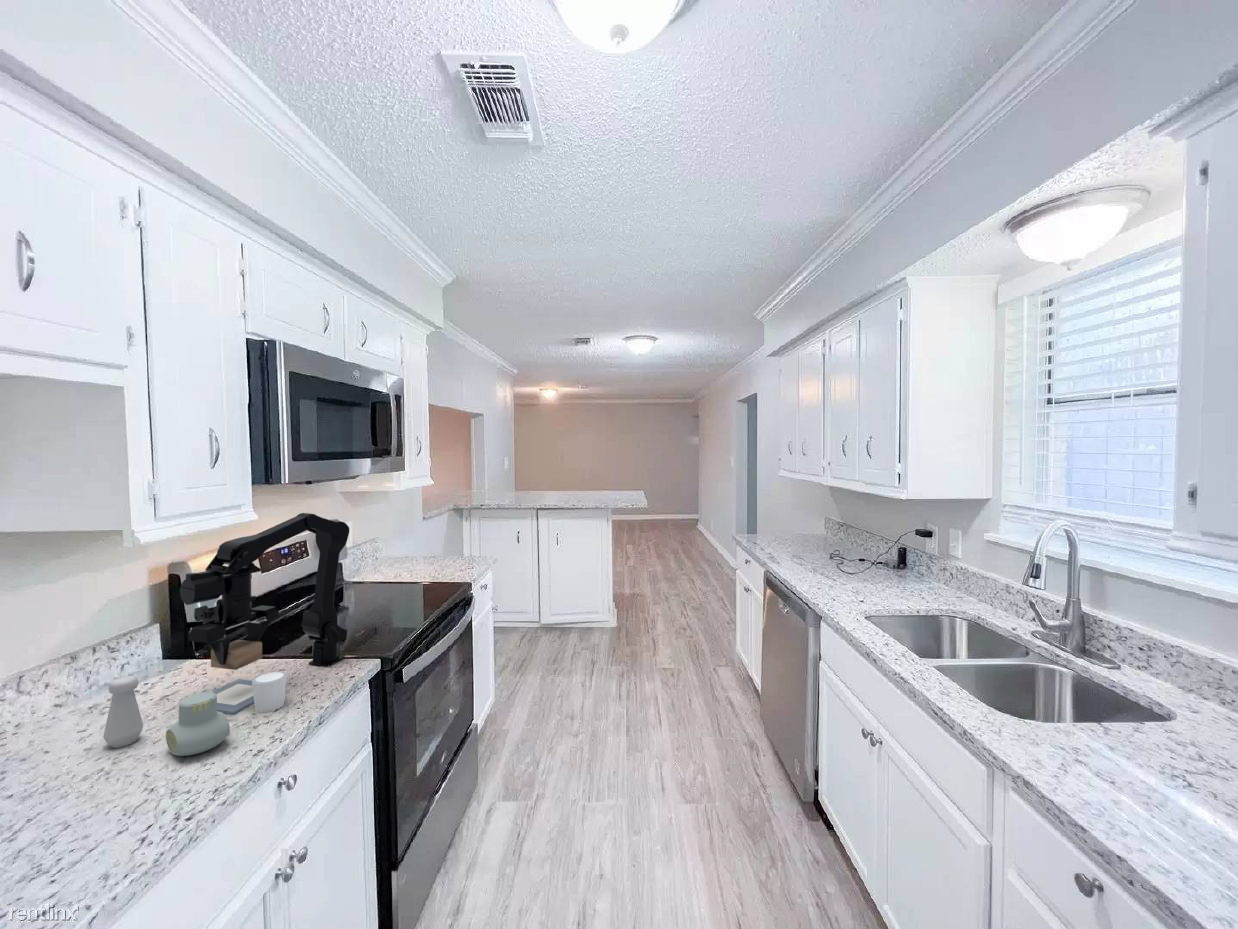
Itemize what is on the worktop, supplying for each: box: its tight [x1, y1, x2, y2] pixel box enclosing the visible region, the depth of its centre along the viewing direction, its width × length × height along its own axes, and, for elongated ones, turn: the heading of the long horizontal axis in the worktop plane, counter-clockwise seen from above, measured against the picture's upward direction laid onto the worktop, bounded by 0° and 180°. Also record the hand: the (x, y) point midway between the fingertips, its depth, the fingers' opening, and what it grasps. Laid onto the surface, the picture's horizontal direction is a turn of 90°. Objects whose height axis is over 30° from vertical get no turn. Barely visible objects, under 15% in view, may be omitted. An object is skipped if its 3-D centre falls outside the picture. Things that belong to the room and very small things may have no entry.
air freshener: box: [165, 691, 231, 757], centre depth 103 cm, size 11×8×10 cm
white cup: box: [251, 670, 288, 713], centre depth 120 cm, size 7×7×7 cm
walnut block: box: [210, 639, 263, 671], centre depth 124 cm, size 7×7×4 cm
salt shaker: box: [102, 675, 144, 749], centre depth 104 cm, size 6×6×13 cm
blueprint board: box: [211, 678, 254, 715], centre depth 124 cm, size 14×14×1 cm
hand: (236, 658), depth 124 cm, fingers closed on walnut block, 7 cm apart
